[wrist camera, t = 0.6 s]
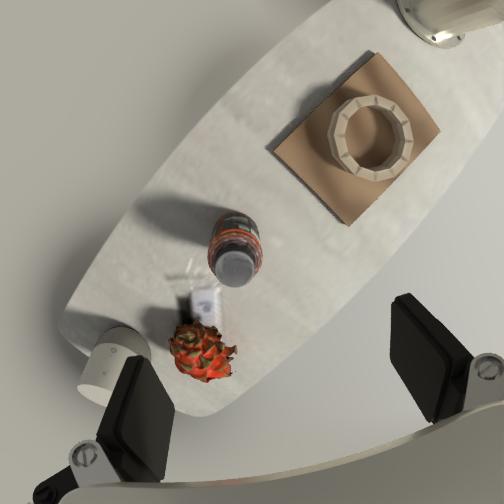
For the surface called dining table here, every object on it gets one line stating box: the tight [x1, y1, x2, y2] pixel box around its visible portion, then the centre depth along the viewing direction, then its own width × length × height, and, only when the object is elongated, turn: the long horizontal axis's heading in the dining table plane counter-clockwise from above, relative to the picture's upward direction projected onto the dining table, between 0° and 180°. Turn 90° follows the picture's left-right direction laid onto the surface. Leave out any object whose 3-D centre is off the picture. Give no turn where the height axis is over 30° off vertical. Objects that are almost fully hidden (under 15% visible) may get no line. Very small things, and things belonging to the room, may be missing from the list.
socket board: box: [273, 52, 441, 227], centre depth 34 cm, size 20×14×4 cm
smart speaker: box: [77, 327, 151, 407], centre depth 40 cm, size 10×9×14 cm
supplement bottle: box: [208, 213, 263, 287], centre depth 35 cm, size 6×6×11 cm
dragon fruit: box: [168, 321, 237, 383], centre depth 44 cm, size 8×8×12 cm
